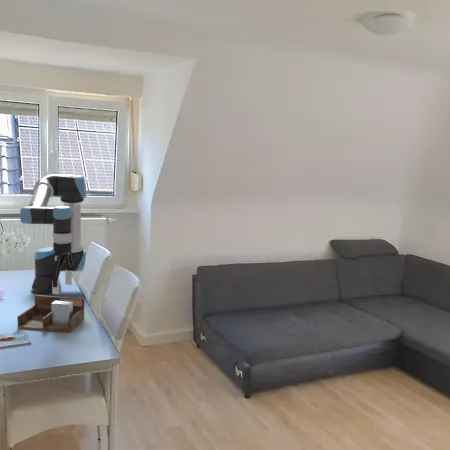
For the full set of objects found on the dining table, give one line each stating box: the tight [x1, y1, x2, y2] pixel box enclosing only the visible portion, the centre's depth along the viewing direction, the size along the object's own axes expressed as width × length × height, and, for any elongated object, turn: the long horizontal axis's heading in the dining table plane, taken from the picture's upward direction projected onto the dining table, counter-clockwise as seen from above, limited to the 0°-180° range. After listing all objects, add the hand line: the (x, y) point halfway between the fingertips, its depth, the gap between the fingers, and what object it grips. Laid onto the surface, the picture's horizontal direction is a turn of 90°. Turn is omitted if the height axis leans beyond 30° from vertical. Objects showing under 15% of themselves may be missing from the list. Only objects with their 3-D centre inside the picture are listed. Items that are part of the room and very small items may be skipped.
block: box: [52, 301, 73, 326], centre depth 217 cm, size 4×8×10 cm, turn 85°
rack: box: [16, 294, 85, 334], centre depth 220 cm, size 17×23×10 cm
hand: (62, 289), depth 216 cm, fingers open, 13 cm apart
